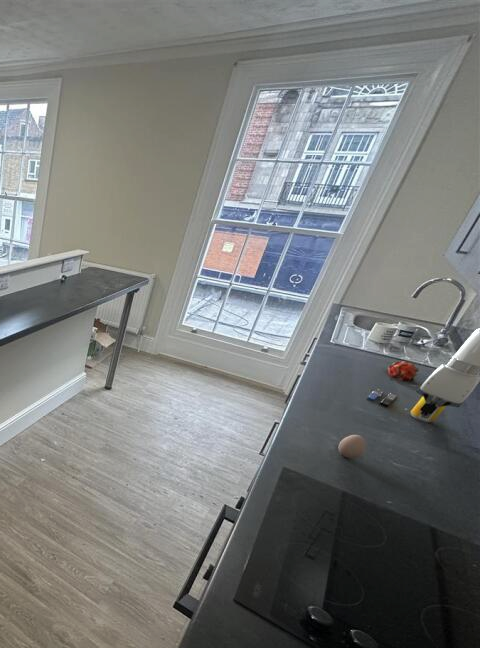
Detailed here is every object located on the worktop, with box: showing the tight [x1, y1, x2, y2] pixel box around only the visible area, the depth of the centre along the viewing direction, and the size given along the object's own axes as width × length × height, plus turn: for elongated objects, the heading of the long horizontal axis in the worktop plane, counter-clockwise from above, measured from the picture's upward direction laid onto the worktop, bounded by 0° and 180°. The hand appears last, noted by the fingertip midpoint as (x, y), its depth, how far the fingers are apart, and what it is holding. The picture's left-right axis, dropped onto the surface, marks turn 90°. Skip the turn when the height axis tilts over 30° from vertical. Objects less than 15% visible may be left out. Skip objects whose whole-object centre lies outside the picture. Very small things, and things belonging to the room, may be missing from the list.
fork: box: [366, 388, 384, 402], centre depth 151 cm, size 15×3×1 cm, turn 126°
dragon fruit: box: [386, 360, 420, 382], centre depth 164 cm, size 8×8×12 cm
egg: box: [338, 434, 367, 459], centre depth 113 cm, size 5×5×7 cm
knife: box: [379, 392, 398, 408], centre depth 149 cm, size 16×2×1 cm, turn 126°
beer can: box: [410, 396, 447, 423], centre depth 135 cm, size 6×6×15 cm
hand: (423, 413), depth 135 cm, fingers closed
